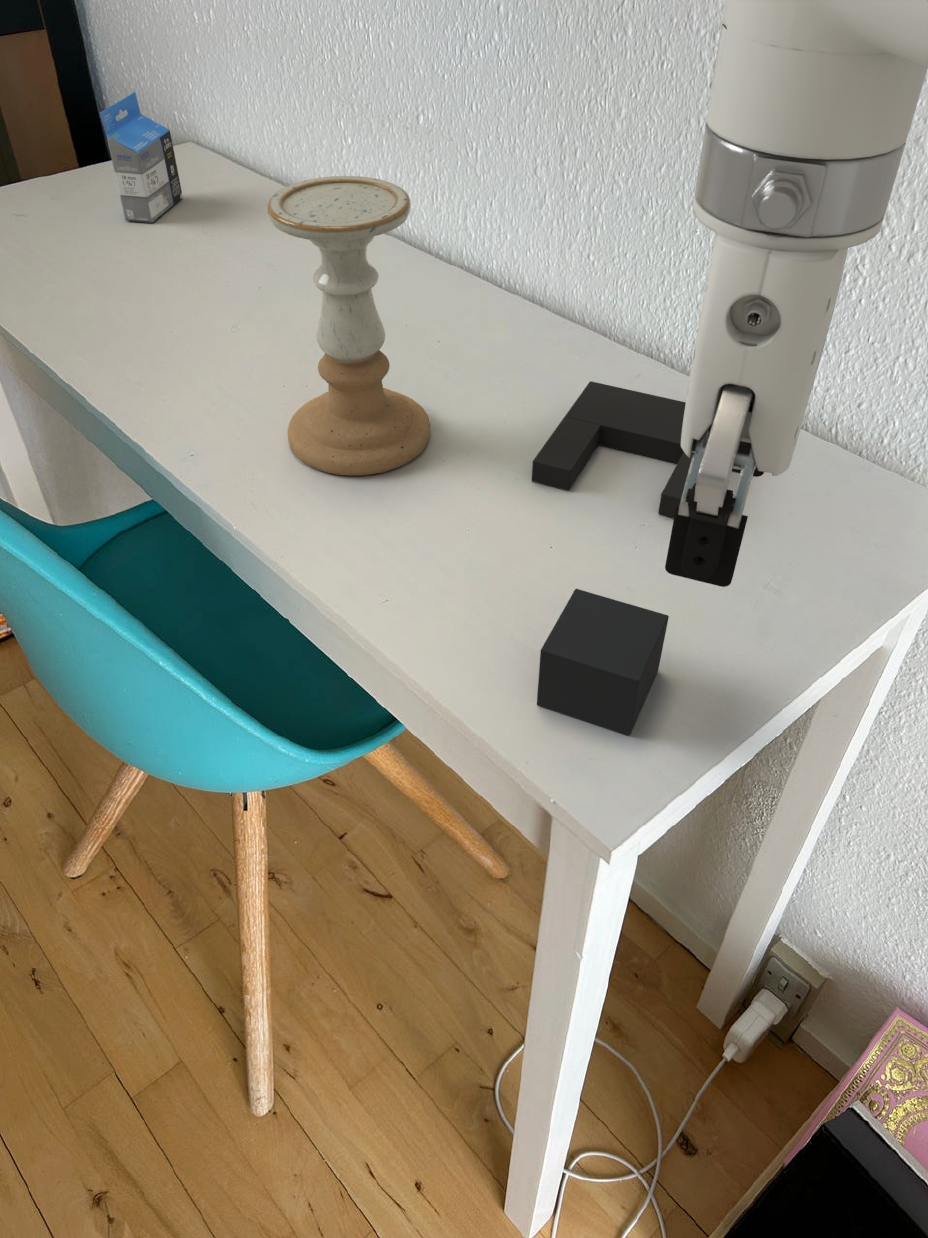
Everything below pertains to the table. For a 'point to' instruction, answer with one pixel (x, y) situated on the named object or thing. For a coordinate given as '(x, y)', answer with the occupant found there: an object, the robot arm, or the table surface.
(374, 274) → the candle holder
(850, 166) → the robot arm
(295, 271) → the table surface
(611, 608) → the black cube block
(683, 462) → the base pad
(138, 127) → the ink cartridge box
